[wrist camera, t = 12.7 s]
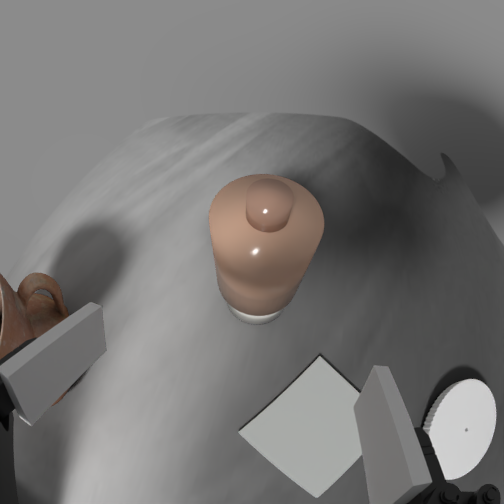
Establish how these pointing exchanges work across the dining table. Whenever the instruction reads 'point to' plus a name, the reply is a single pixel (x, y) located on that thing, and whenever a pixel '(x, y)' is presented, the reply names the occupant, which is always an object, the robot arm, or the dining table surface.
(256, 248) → the bottle
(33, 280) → the ceramic jug
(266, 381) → the dining table surface
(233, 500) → the dining table surface
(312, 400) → the mat
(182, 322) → the dining table surface
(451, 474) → the plastic lid
